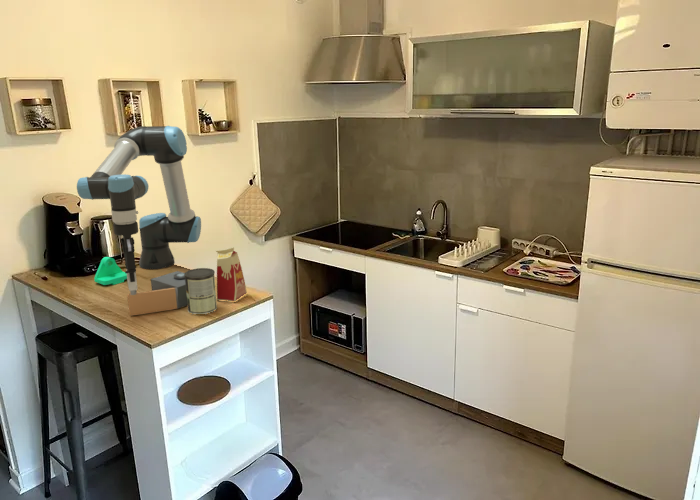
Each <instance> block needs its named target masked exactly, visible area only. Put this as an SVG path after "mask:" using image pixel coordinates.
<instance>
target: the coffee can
mask: <svg viewBox="0 0 700 500" xmlns="http://www.w3.org/2000/svg"><path fill="white" fill-rule="evenodd" d="M183 273H184V276H185V284H186V294H187V312H188V314H190V313H192V314H191V315H193V314H205V315H208V314H207V313H209V314H211V313H210V312H212V313H214V312H215V311H214V310H216V309H217V310H218V306H217V289H216V281H215V280H216V278H215V269H212V268H210V267H209V268H208V267H207V268H206V267H200V268H199V267H198V268H194V269H193V268H192V269H188V270H186V271H185V272H183ZM217 310H216V311H217ZM213 311H214V312H213Z"/></svg>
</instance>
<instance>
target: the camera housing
mask: <svg viewBox="0 0 700 500" xmlns="http://www.w3.org/2000/svg"><path fill="white" fill-rule="evenodd" d="M184 273H185V272H182V271H178V270H176V271H172V272H169V273H166V274H164V275H159V276H157V277H152V278H150V284H151V291H153V290H161V289H168V288H175V287H177V289H178V299H179V308H178V309H181V307H182V308H184V307H188V305H187V294H186V284H185V276H184Z"/></svg>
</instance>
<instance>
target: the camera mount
mask: <svg viewBox="0 0 700 500" xmlns="http://www.w3.org/2000/svg"><path fill="white" fill-rule="evenodd" d="M125 280H127V273H125V271H123V269H121V267H120V266H119V265H118V264H117V263H116V260H115V258H113V257H109V256H105V257H104V256H103V258H102V259H101V260H100V263H99V266H98V268H97V271H96V272H95V275H94V279H93V281H94V282H95V283H97V284H101V285H103V286H107V285H113V286H115V285H117V284H118V285H119V284H122V283H125Z"/></svg>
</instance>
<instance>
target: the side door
mask: <svg viewBox="0 0 700 500" xmlns="http://www.w3.org/2000/svg"><path fill="white" fill-rule="evenodd" d="M126 298H127V304H128V311H129V312H128V313H129V316H130V317H132V316H139V315H143V314H151V313H158V312H163V311H170V310H176V309H177V310H178V309H180V308H179V299H178V289H177V287H175V288H168V289H161V290H153V291H152V290H149V291H140V292H137V290H133V291H129V293H127V297H126Z"/></svg>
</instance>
